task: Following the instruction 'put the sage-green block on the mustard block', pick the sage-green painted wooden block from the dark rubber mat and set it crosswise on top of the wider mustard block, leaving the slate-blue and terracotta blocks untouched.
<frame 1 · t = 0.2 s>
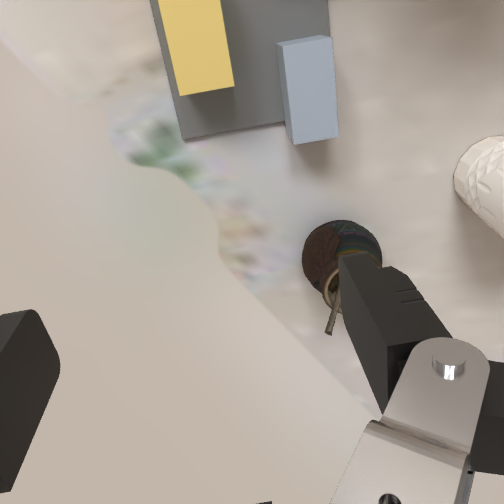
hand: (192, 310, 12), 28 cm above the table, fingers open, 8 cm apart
white cup: (487, 170, 41), on the table
mate gourd: (332, 245, 44), on the table
mustard block: (196, 27, 33), resting on mat
blue block: (302, 86, 36), resting on mat
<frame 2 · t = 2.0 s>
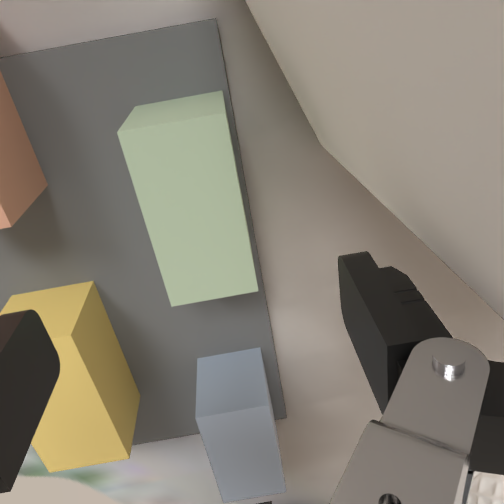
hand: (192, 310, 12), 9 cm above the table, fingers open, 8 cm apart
white cup: (491, 450, 32), on the table
mustard block: (81, 349, 23), resting on mat
mat: (131, 287, 22), on the table
blue block: (239, 396, 26), resting on mat
green block: (198, 180, 19), resting on mat
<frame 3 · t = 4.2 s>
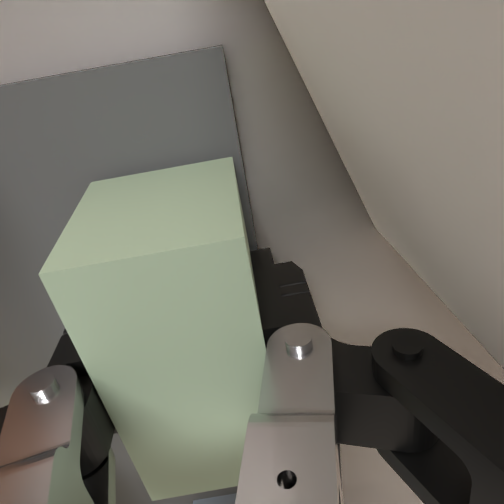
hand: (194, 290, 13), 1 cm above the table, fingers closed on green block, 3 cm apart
mat: (99, 416, 16), on the table
green block: (193, 284, 13), point 1 cm above the table, touching gripper, mat
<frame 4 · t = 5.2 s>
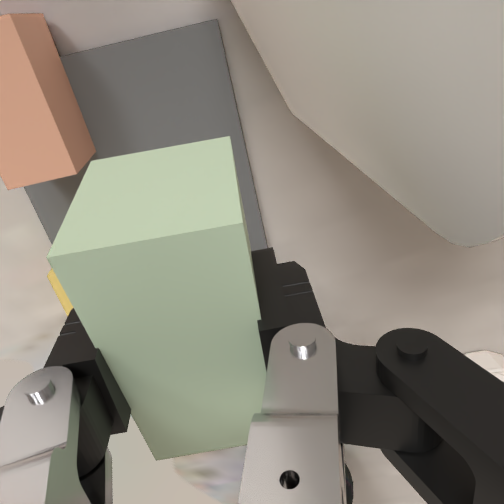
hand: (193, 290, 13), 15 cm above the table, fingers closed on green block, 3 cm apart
white cup: (469, 379, 37), on the table
terracotta block: (39, 94, 23), on the table, touching mat
mustard block: (121, 288, 29), resting on mat
mat: (159, 234, 28), on the table
green block: (192, 258, 13), point 14 cm above the table, tilted 8°, touching gripper
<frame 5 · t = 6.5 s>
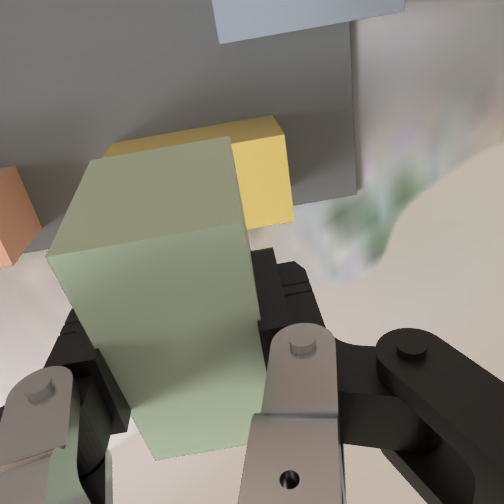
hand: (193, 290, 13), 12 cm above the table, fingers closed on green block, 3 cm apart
mustard block: (201, 167, 23), resting on mat
mat: (125, 106, 21), on the table
green block: (191, 258, 13), point 11 cm above the table, tilted 8°, touching gripper
when the fingers open (6 cm above the table, at t = 7.8 s): green block stays where it is, resting on mustard block.
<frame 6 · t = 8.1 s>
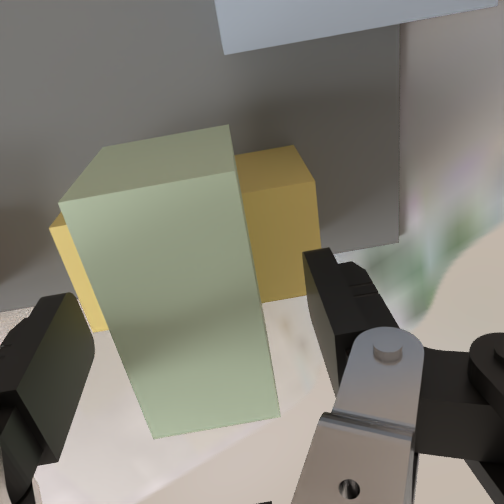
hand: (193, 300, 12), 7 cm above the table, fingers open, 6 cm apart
mustard block: (199, 211, 18), resting on mat, touching green block
mat: (98, 134, 16), on the table
green block: (193, 246, 14), point 4 cm above the table, touching mustard block
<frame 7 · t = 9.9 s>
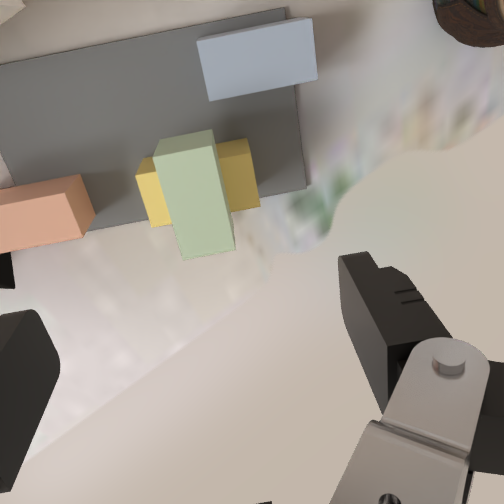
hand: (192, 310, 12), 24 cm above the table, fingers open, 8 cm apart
terracotta block: (44, 203, 35), on the table, touching mat
mustard block: (201, 172, 34), resting on mat, touching green block
mat: (151, 134, 33), on the table
blue block: (253, 55, 31), resting on mat
green block: (198, 184, 31), point 4 cm above the table, touching mustard block
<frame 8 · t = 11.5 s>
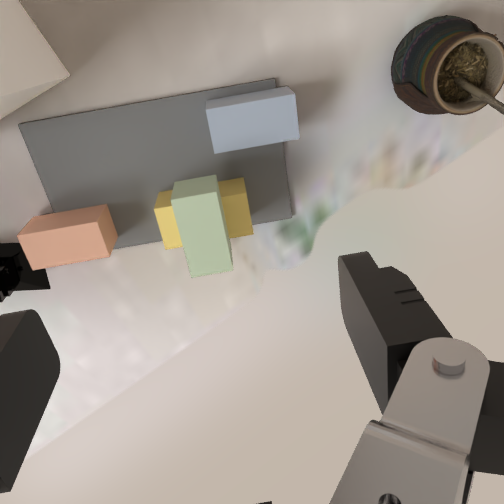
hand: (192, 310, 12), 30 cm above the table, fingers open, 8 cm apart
mate gourd: (424, 63, 38), on the table
terracotta block: (76, 226, 42), on the table, touching mat
mustard block: (205, 204, 42), resting on mat, touching green block
mat: (165, 173, 41), on the table
blue block: (250, 114, 38), resting on mat
green block: (204, 216, 38), point 4 cm above the table, touching mustard block
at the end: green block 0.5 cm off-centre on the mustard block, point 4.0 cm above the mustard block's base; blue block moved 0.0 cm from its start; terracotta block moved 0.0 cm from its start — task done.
